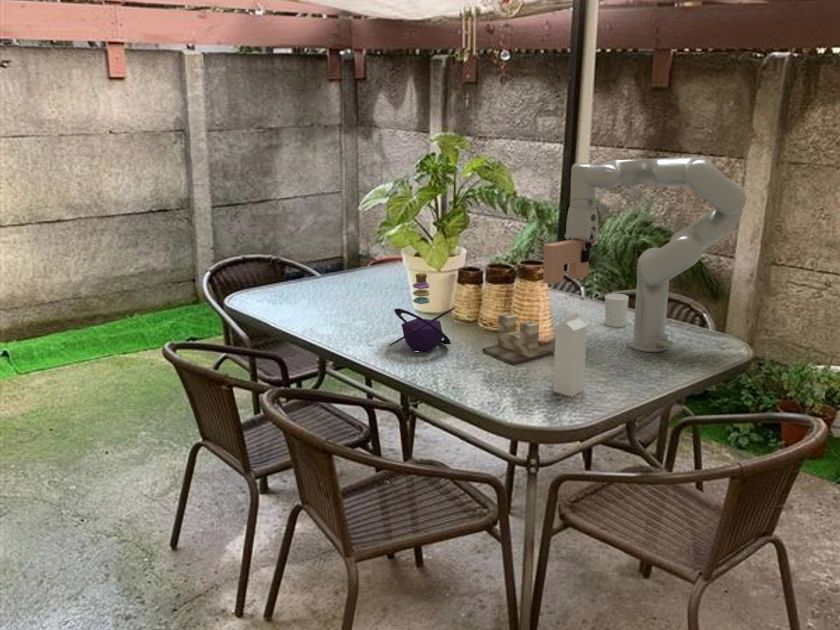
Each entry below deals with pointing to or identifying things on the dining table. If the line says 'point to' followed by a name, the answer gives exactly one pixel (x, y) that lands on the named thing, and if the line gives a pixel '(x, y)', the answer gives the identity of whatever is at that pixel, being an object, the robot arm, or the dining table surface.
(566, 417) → the dining table surface
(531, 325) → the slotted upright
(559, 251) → the brown arch block
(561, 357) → the milk
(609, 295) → the white cup
